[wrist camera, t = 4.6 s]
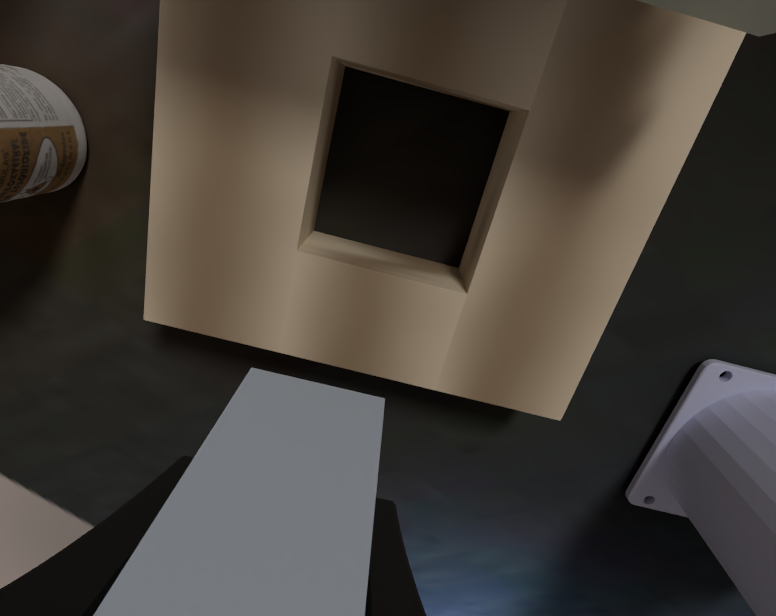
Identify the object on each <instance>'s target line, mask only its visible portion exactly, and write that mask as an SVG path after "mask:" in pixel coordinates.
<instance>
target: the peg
mask: <svg viewBox="0 0 776 616" xmlns="http://www.w3.org/2000/svg"><path fill="white" fill-rule="evenodd" d="M384 404H385V398H381V397H376V396H372V395H368V394H363V393H359V392H355V391H350V390H346V389H342V388H338V387H333V386H329V385H325V384H320V383H316V382H312V381H307V380H303V379H299V378H295V377H290V376H286V375H282V374H277V373H273V372H269V371H264V370H260V369H256V368H251V369H250V371H249V372H248V374H247V375H246V377H245V379H244V380H243V382H242V383H241V385H240V386H239V388H238V389H237V391H236V393H235V394H234V396H233V397H232V399H231V400H230V402H229V404H228V405H227V407H226V408H225V410H224V411H223V413H222V415H221V416H220V418H219V419H218V421H217V422H216V424H215V426H214V427H213V429H212V430H211V432H210V433H209V435H208V436H207V438H206V440H205V441H204V443H203V444H202V446H201V447H200V449H199V451H198V452H197V454H196V455H195V457H194V458H193V460H192V462H191V463H190V465H189V466H188V468H187V469H186V471H185V473H184V474H183V476H182V477H181V479H180V480H179V482H178V484H177V485H176V487H175V488H174V490H173V491H172V493H171V494H170V496H169V498H168V499H167V501H166V502H165V504H164V505H163V507H162V509H161V510H160V512H159V513H158V515H157V516H156V518H155V520H154V521H153V523H152V524H151V526H150V527H149V529H148V531H147V532H146V534H145V535H144V537H143V538H142V540H141V542H140V543H139V545H138V546H137V548H136V549H135V551H134V552H133V554H132V556H131V557H130V559H129V560H128V562H127V563H126V565H125V567H124V568H123V570H122V571H121V573H120V574H119V576H118V578H117V579H116V581H115V582H114V584H113V585H112V587H111V589H110V590H109V592H108V593H107V595H106V596H105V598H104V599H103V601H102V603H101V604H100V606H99V607H98V609H97V610H96V612H95V614H94V615H93V616H365V607H366V596H367V586H368V575H369V564H370V553H371V543H372V532H373V521H374V511H375V500H376V489H377V478H378V468H379V457H380V446H381V436H382V425H383V414H384Z"/></svg>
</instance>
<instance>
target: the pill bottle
mask: <svg viewBox="0 0 776 616" xmlns="http://www.w3.org/2000/svg"><path fill="white" fill-rule="evenodd" d="M86 153H87V139H86V132H85V128H84V125H83V122H82V119H81V117H80V115H79V113H78V111H77V110H76V108H75V106H74V105H73V104H72V102H71V101H70V100H69V98H68V97H67V96H66V95H65V94H64V92H63V91H62V90H61V89H60V88H58V87H57V86H56V85H55V84H54V83H52V82H51V81H49V80H48V79H46V78H45V77H43V76H41V75H40V74H38V73H35V72H33V71H31V70H28V69H25V68H21V67H15V66H8V65H3V64H0V203H2V202H6V201H11V200H15V199H20V198H26V197H30V196H34V195H39V194H44V193H49V192H53V191H57V190H59V189H62V188H64V187H66V186H67V185H69V184H70V183H71V182H73V181H74V180H75V179H76V178H77V176H78V175H79V173H80V172H81V170H82V168H83V166H84V163H85V160H86Z"/></svg>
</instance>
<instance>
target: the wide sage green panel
mask: <svg viewBox="0 0 776 616" xmlns="http://www.w3.org/2000/svg"><path fill="white" fill-rule="evenodd" d="M637 1H640V2H644V3H647V4H651V5H654V6H657V7H661V8H664V9H668V10H671V11H674V12H678V13H681V14H685V15H688V16H691V17H695V18H698V19H702V20H705V21H708V22H712V23H715V24H719V25H722V26H725V27H729V28H732V29H736V30H739V31H742V32H746V33H749V34H753V35H756V36H764V35H768V34H772V33H776V0H637Z"/></svg>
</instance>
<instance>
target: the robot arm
mask: <svg viewBox="0 0 776 616" xmlns="http://www.w3.org/2000/svg"><path fill="white" fill-rule="evenodd" d="M725 371H726V374H725V375H724V376H722V377H719V376H720V374H721V373H722V372H725ZM192 460H193V457H188V456H183V457H181V458H180V459H178V460H177V461H176V462H175V463H174V464H173V465H172V466H170V467H169V468H168V469H167V470H166V471H165V472H164V473H162V474H161V475H160V476H159V477H158V478H156V479H155V480H154V481H153V482H152V483H150V484H149V485H148V486H147V487H146V488H144V489H143V490H142V491H141V492H140V493H138V494H137V495H136V496H135V497H133V498H132V499H131V500H129V501H128V502H127V503H126V504H124V505H123V506H122V507H120V508H119V509H118V510H117V511H115V512H114V513H113V514H111V515H110V516H109V517H108V518H106V519H105V520H104V521H102V522H101V523H100V524H98V525H97V526H95V527H94V528H93V529H91V530H90V531H88V532H87V533H86V534H84V535H83V536H81V537H80V538H78V539H77V540H76V541H74V542H73V543H71V544H70V545H69V546H67V547H66V548H64V549H63V550H62V551H60V552H58V553H57V554H55V555H54V556H52V557H51V558H49V559H48V560H46V561H45V562H43V563H42V564H40V565H39V566H38V567H36V568H34V569H32V570H31V571H29V572H28V573H26V574H24V575H23V576H21V577H20V578H18V579H16V580H15V581H13V582H12V583H10V584H8V585H7V586H5V587H3V588H1V589H0V616H93V615H94V614H95V612H96V610H97V609H98V607H99V606H100V604H101V603H102V601H103V599H104V598H105V596H106V595H107V593H108V592H109V590H110V589H111V587H112V585H113V584H114V582H115V581H116V579H117V578H118V576H119V574H120V573H121V571H122V570H123V568H124V567H125V565H126V563H127V562H128V560H129V559H130V557H131V556H132V554H133V552H134V551H135V549H136V548H137V546H138V545H139V543H140V542H141V540H142V538H143V537H144V535H145V534H146V532H147V531H148V529H149V527H150V526H151V524H152V523H153V521H154V520H155V518H156V516H157V515H158V513H159V512H160V510H161V509H162V507H163V505H164V504H165V502H166V501H167V499H168V498H169V496H170V494H171V493H172V491H173V490H174V488H175V487H176V485H177V484H178V482H179V480H180V479H181V477H182V476H183V474H184V473H185V471H186V469H187V468H188V466H189V465H190V463H191V462H192ZM625 494H626V497H627V499H628V501H629V502H630V503H631V504H633V505H637V506H641V507H645V508H650V509H654V510H658V511H663V512H667V513H671V514H675V515H680V516H684V517H688V518H689V519H690V521H691V522H692V524H693V525H694V526H695V528H696V529H697V531H698V532H699V534H700V535H701V537H702V538H703V539H704V541H705V542H706V544H707V545H708V547H709V548H710V550H711V551H712V552H713V554H714V555H715V557H716V558H717V560H718V561H719V563H720V564H721V565H722V567H723V568H724V570H725V571H726V573H727V574H728V576H729V577H730V578H731V580H732V581H733V583H734V584H735V586H736V587H737V588H738V590H739V591H740V593H741V594H742V596H743V597H744V599H745V600H746V601H747V603H748V604H749V606H750V607H751V609H752V610H753V612H754V613H755V614H756V616H776V375H775V374H771V373H767V372H763V371H759V370H755V369H751V368H747V367H743V366H739V365H735V364H731V363H727V362H723V361H719V360H715V359H710V360H706V361H704V362H703V363H701V365H700V366H699V367H698V369H697V370H696V372H695V374H694V376H693V377H692V379H691V381H690V382H689V384H688V386H687V387H686V389H685V391H684V393H683V394H682V396H681V398H680V399H679V401H678V403H677V405H676V406H675V408H674V410H673V411H672V413H671V415H670V416H669V418H668V420H667V422H666V423H665V425H664V427H663V428H662V430H661V432H660V434H659V435H658V437H657V439H656V440H655V442H654V444H653V445H652V447H651V449H650V451H649V452H648V454H647V456H646V457H645V459H644V461H643V463H642V464H641V466H640V468H639V469H638V471H637V473H636V475H635V476H634V478H633V480H632V481H631V483H630V485H629V486H628V488H627V490H626V493H625ZM648 496H649V497H648ZM646 497H648V498H646ZM365 616H426V613H425V611H424V608H423V605H422V602H421V599H420V597H419V594H418V591H417V588H416V584H415V581H414V578H413V575H412V572H411V568H410V565H409V562H408V558H407V555H406V551H405V547H404V543H403V539H402V535H401V531H400V526H399V521H398V516H397V510H396V505H395V504H394V502H393V501H389V500H385V499H380V498H376V500H375V511H374V521H373V532H372V543H371V553H370V564H369V575H368V586H367V596H366V607H365Z"/></svg>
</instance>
